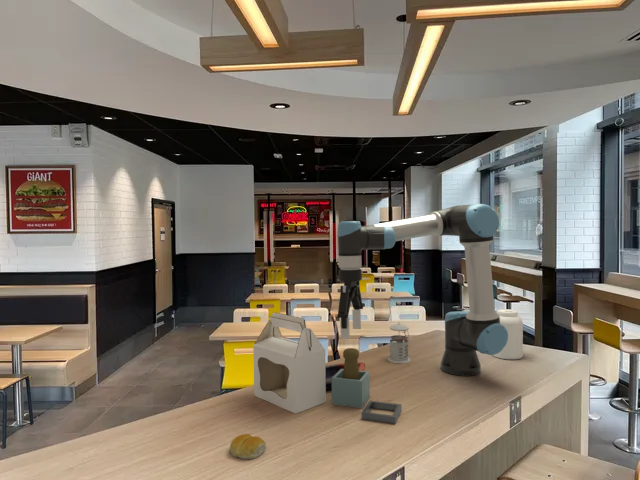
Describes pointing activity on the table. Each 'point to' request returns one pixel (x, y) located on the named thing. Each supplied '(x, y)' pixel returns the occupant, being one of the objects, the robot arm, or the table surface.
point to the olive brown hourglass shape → (351, 364)
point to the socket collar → (381, 417)
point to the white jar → (511, 334)
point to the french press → (399, 345)
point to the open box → (350, 390)
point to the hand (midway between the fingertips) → (351, 333)
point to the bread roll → (247, 446)
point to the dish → (334, 368)
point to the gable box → (289, 365)
